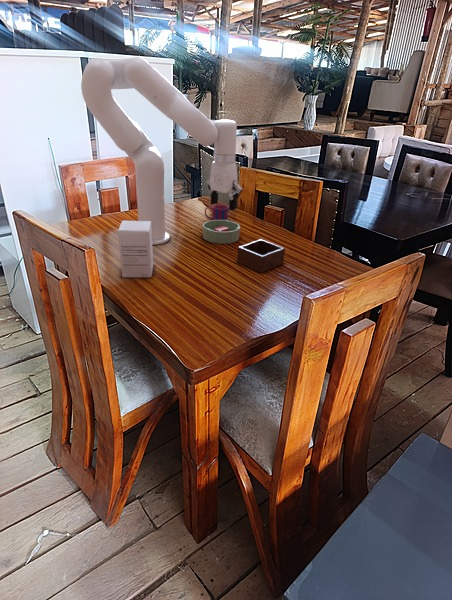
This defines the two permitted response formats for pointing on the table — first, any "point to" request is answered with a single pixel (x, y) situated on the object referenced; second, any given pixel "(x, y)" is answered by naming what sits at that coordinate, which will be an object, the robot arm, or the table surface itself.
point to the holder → (260, 255)
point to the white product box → (136, 248)
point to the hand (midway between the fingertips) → (223, 206)
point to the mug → (219, 212)
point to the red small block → (221, 229)
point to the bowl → (221, 236)
